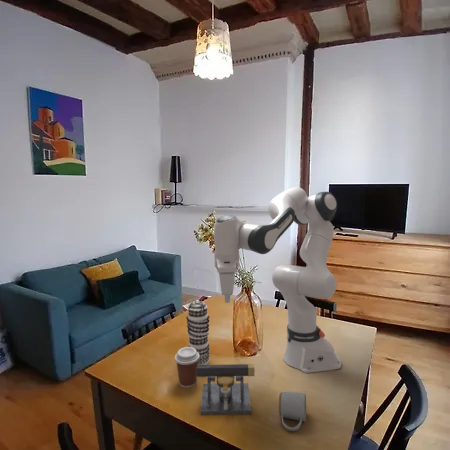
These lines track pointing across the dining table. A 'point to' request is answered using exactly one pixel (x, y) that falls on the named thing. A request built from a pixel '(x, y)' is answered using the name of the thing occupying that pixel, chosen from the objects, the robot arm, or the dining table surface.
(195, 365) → the coffee cup
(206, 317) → the grey ridged column
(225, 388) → the grey lintel crossbar
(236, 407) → the post base
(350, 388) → the dining table surface
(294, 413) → the ceramic mug
